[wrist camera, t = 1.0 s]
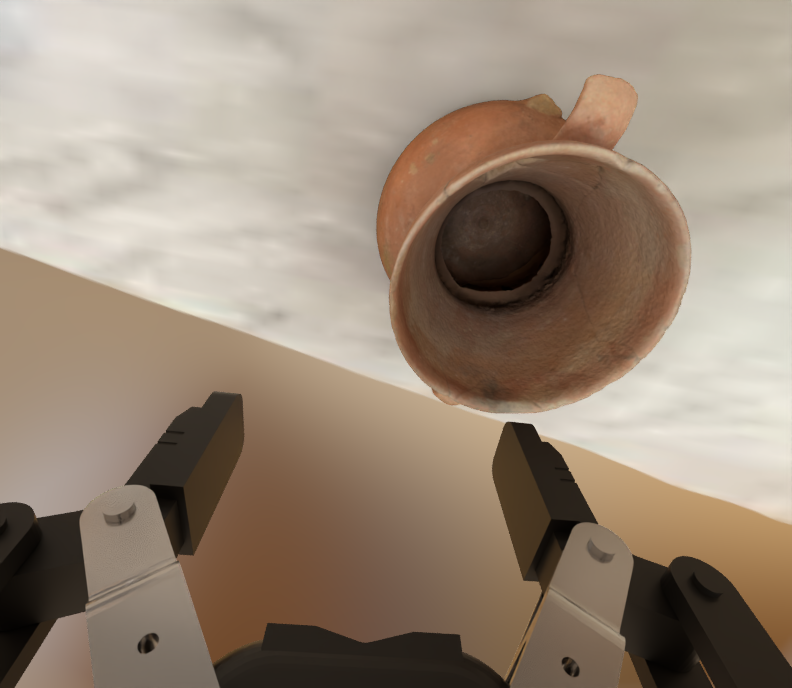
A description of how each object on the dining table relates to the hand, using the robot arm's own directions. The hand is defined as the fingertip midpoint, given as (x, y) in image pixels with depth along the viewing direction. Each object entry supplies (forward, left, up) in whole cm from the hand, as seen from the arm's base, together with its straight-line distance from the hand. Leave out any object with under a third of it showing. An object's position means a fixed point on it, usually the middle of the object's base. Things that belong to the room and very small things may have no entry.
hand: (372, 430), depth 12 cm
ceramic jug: (-3, +5, -21) cm, 21 cm away
